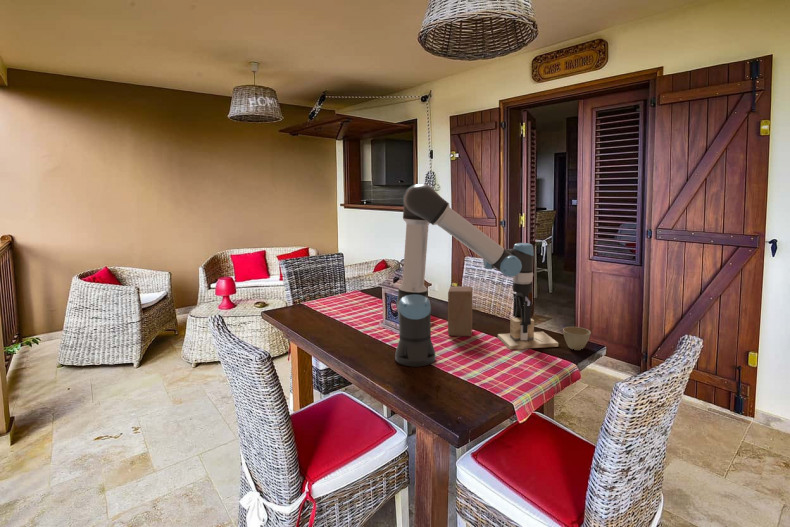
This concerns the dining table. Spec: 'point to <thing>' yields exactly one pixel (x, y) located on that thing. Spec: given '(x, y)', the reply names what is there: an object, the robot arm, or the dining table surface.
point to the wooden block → (460, 311)
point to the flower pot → (576, 337)
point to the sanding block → (516, 329)
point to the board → (529, 341)
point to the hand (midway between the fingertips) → (521, 337)
